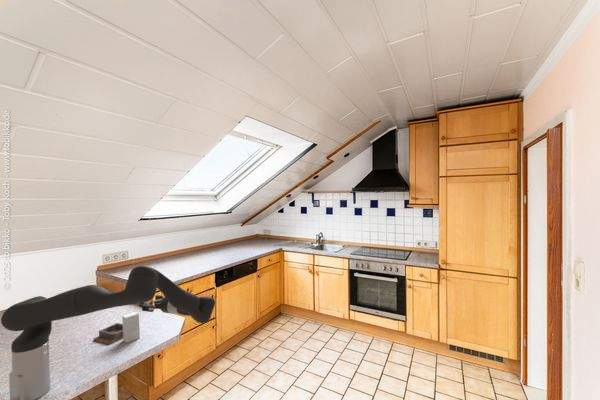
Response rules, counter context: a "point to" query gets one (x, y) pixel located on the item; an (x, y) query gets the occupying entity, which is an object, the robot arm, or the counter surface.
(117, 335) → the locating plate
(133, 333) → the skincare box
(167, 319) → the counter surface
